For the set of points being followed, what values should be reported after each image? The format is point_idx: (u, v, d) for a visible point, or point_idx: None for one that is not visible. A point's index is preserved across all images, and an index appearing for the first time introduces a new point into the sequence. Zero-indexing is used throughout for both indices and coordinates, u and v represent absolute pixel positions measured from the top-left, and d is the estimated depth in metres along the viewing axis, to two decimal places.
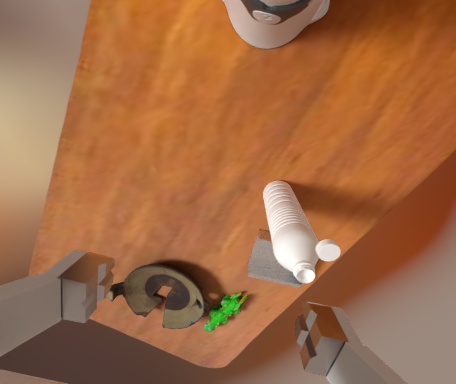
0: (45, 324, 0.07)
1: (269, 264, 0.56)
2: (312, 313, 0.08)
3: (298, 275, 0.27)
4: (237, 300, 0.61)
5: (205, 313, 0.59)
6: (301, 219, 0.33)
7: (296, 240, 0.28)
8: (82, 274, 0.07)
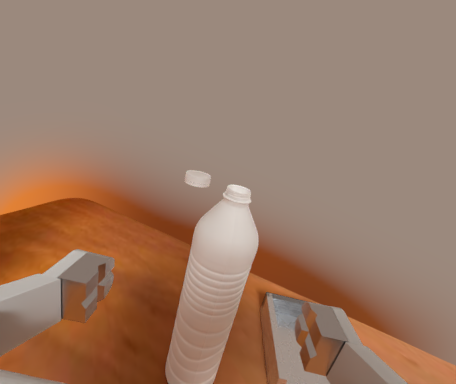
0: (44, 324, 0.07)
1: None
2: (312, 313, 0.08)
3: None
4: None
5: None
6: None
7: (204, 222, 0.20)
8: (82, 274, 0.07)
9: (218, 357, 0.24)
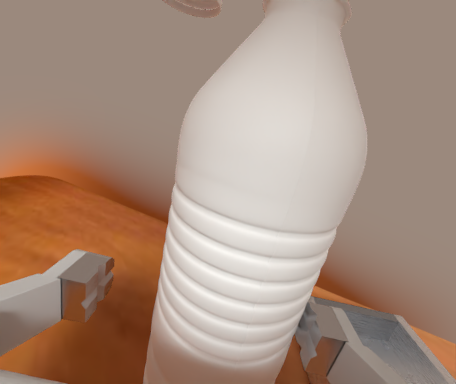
0: (44, 324, 0.07)
1: None
2: (312, 313, 0.08)
3: None
4: None
5: None
6: None
7: (210, 80, 0.06)
8: (82, 274, 0.07)
9: None
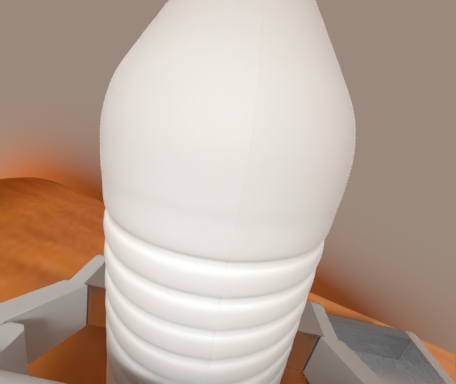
0: (72, 330, 0.07)
1: None
2: None
3: None
4: None
5: None
6: None
7: (128, 52, 0.05)
8: None
9: None
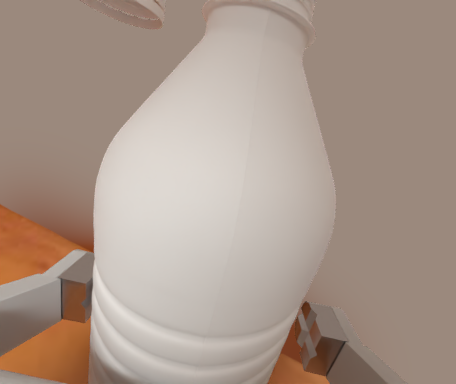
0: (44, 324, 0.07)
1: None
2: (312, 313, 0.08)
3: None
4: None
5: None
6: None
7: (127, 121, 0.05)
8: (82, 274, 0.07)
9: None
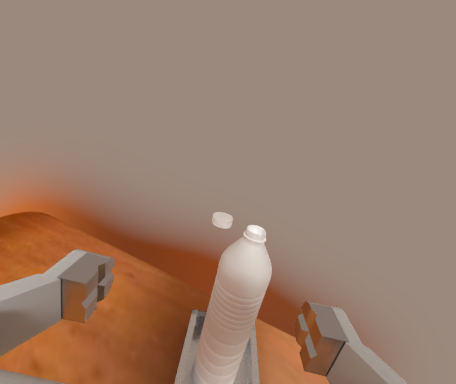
0: (44, 324, 0.07)
1: (236, 383, 0.32)
2: (312, 313, 0.08)
3: None
4: None
5: None
6: (215, 279, 0.28)
7: (229, 257, 0.25)
8: (82, 274, 0.07)
9: (238, 364, 0.29)
